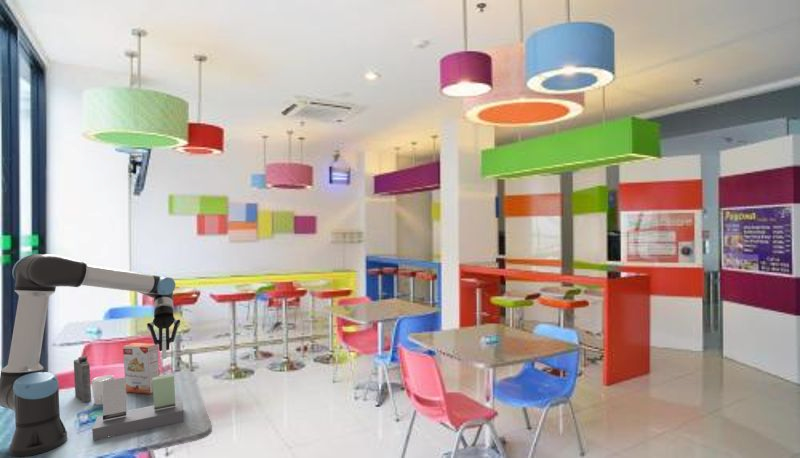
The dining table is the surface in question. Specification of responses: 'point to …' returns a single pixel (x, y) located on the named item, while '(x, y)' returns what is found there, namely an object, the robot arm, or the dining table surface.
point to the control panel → (138, 420)
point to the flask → (82, 379)
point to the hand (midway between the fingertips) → (164, 356)
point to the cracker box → (140, 366)
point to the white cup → (99, 388)
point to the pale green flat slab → (163, 391)
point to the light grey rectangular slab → (114, 398)
